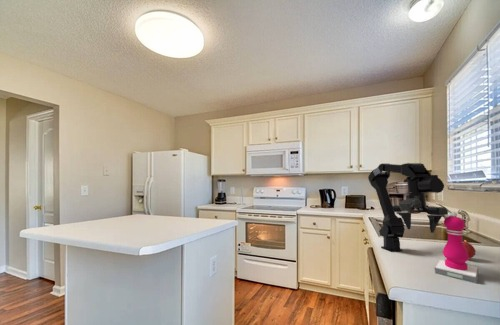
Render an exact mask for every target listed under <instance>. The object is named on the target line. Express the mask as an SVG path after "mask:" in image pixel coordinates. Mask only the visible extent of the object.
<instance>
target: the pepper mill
mask: <svg viewBox="0 0 500 325" xmlns="http://www.w3.org/2000/svg"><path fill="white" fill-rule="evenodd" d="M443 220H444V221H443V225H444V227H445V233H446V234H447V240H446V244H445V246H444V247H443V249H442V255H443V257H444V258H445V259H444V261H445V265H446V266H447V267H450V268H453V269H457V270H467V269H468V267H467V265H468V263H467V261H469V260H470V258H469V255H468V252H467V250H466V249H465V247H464V245H463V242H464V241H463V236H464V235H465V234H464V229H465V227H466V223H465V221H464V219H462V218H461V217H458V214H457V213H456V212H454V211H453V212H450V216H447V217H445V218H444V219H443Z"/></svg>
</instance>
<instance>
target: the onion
mask: <svg viewBox="0 0 500 325" xmlns="http://www.w3.org/2000/svg"><path fill="white" fill-rule="evenodd" d="M462 242H463V245H464V247H465V249H466V250H467V252H468V255H469V259H471V258H473V257H474V256H475V255H476V253H477V252H476V249H475V248H474V246H473V245H472V244H471V243H469V242H468V241H467V240H466V239H464V240H463V241H462Z"/></svg>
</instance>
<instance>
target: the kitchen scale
mask: <svg viewBox="0 0 500 325" xmlns="http://www.w3.org/2000/svg"><path fill="white" fill-rule="evenodd" d="M467 267H468V269H467V270H457V269H453V268H450V267H447V266H446V265H445V259H444V260H443V259H439V261H438V262H437V264H436V266H435V267H434V274H436V275H437V274H438V275H442V276H446V277H450V278H454V279H458V280H461V281H465V282H469V283H474V284H477V283H478V277H479V268H478V267H476V266H472V265H468V264H467Z"/></svg>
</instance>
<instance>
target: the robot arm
mask: <svg viewBox="0 0 500 325" xmlns="http://www.w3.org/2000/svg"><path fill="white" fill-rule="evenodd" d="M391 173H398V174H400V175H402V176H405V177H406V178H405V179H404V180H403V183H407V191H408V194H407V195H406V196H405V199H403V200H401V201H400V202H398V204H397V205H396V204H394V205H393V203H392V200H391V197H390V194H389V191H388V188H387V186H388V183H389V180H388V179H389V178H390V177H391ZM367 178H368V179H367V180H368V181H369V184H370V186H371V187H372V188H374V190H375V192H376V195H377V199H378V201H379V204H380V208H381V211H382V214H383V220H382V227H381V228H380V229H379V231H378V232H379V236H381V237H383V245H382V246H381V249H384V250H386V251H388V252H393V253H394V252H402V251H403V249H401V241H400V238H404V235H405V227H406V228H407V230H411V227H412V212H416V213H418V212H419V213H427V215H426V216H427V219H428V220H429V230H430V231H429V232H430V233H431V234H434V233H435V230H436V228H437V226H438V224H439V222H440V221H441V219H442V218H443V217H445V215H446V216H447V215H449V214H448V209H447V208H446V207H442V206H429V205H428V204H427V200H426V199H427V198H428V195H427V194H429V193H430V194H432V193H433V194H435V193H437V194H439V193H442V192H443V190H444V188H445V184H444V183H443V180H441V178H439V176H438V174H431V173H430V172H429V170H428V168H426V167H425V164H424V163H421V162H420V163H417V162H413V163H411V162H407V163H402V164H395V163H394V164H393V163H385V162H384V163H379V165H378V166H377V167H375V168H374V169H373V170H371V172H370V173H369V174H368V177H367ZM426 193H427V194H426ZM396 214H397V215H399V216H400V217H399V216H397V215H396Z"/></svg>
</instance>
